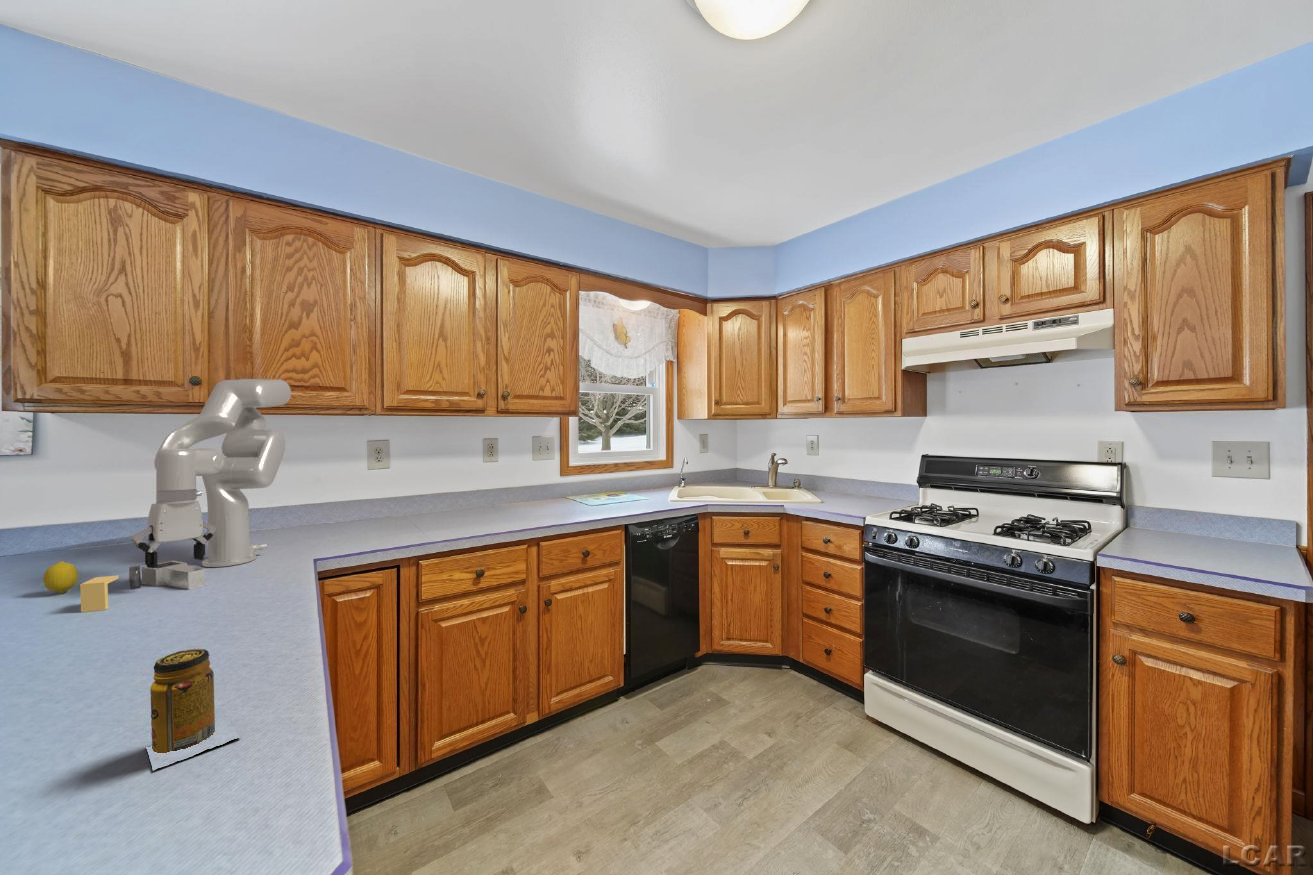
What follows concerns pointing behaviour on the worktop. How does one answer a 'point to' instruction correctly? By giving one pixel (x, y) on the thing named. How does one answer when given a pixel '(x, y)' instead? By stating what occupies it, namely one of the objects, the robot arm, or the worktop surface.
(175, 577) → the link
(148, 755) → the worktop surface
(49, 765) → the worktop surface
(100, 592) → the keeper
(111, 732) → the worktop surface
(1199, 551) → the worktop surface
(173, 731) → the condiment
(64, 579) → the lemon
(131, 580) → the cylinder
